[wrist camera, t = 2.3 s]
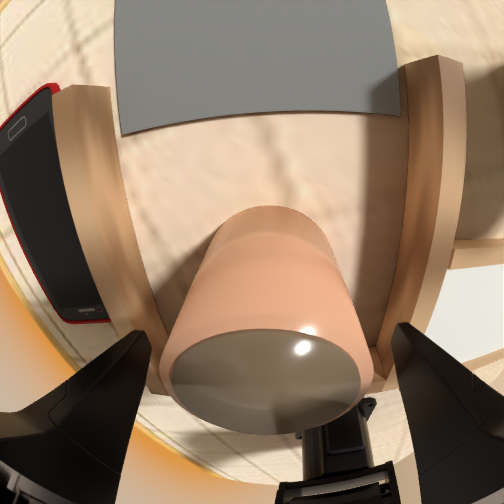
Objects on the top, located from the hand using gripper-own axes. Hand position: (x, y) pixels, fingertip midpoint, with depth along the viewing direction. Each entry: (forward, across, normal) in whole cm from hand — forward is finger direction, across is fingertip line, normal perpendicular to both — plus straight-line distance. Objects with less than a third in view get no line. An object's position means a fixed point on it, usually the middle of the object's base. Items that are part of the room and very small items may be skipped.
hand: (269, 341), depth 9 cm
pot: (+5, 0, 0) cm, 5 cm away
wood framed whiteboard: (+5, -18, +5) cm, 19 cm away
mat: (+5, 0, -12) cm, 13 cm away
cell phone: (+5, +13, -4) cm, 14 cm away
